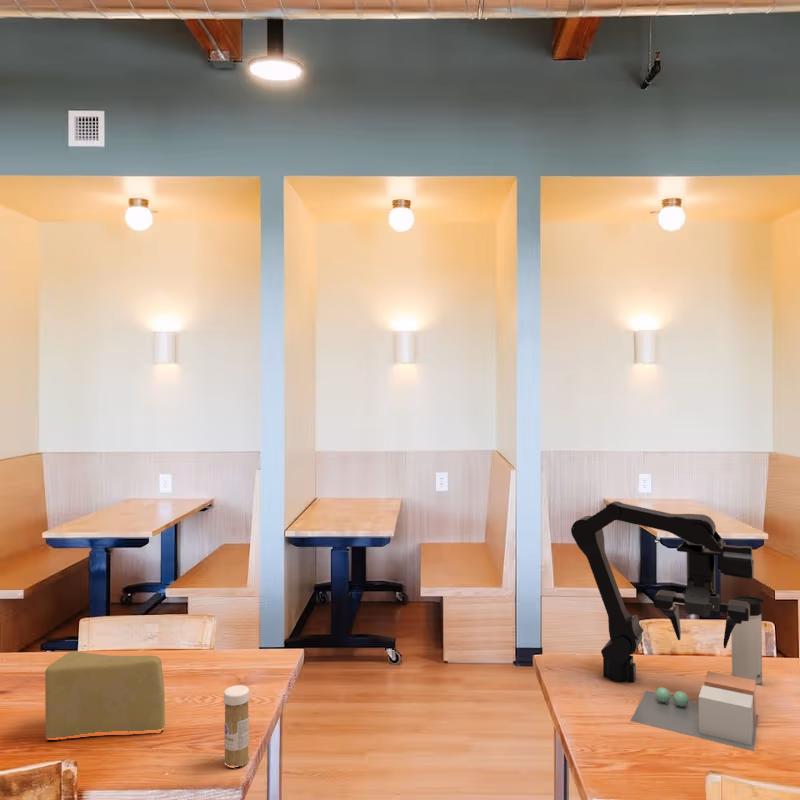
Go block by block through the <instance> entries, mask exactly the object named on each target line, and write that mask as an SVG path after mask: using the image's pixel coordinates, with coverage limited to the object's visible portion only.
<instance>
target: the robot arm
mask: <svg viewBox="0 0 800 800" xmlns="http://www.w3.org/2000/svg"><path fill="white" fill-rule="evenodd" d="M614 521H621V522H623V523H627V524H628V523H629V524H633V525H637V526H641V527H647V528H651V529H655V530H660V531H664V532H667V533H669V534H673V535H674V536H675V537H678V538H680V539H682V540H683V542H682V544H679V545H678V547H677V548H676V551H677V552H680V553H681V552H682V553H686V587H685V589H684V590H685V591H684V596H683V597H681V596H678V594H677V592H676V591H674V590H673V591H672V590H667V589H660V590H658V591H657V592H656V594H655V595H654V600H653V601H654V602H653V603H654V607H655V608H656V609H660V611H661V612H662V613H665V614H666V615H667V616H668V619H669V620H670V622H671V624H672V628H673V630H674V633H675V636H676V639H677V641H680V640H681V638H682V637H681V636H682V635H681V634H682V633H681V630H682V629H681V619H680V609H679V608H680V607H684V613H685V614H686V615H690V616H692V615H694V616H695V615H696V616H701V617H705V618H706V617H710V615H711V612H720V613H726V614H727V616H726V620H725V628H724V633H723V634H724V637H723V649H726V648H727V646H728V643H729V641H730V640H729V639H730V637H731V632H732V630H733V628H734V626H735V625H736V624H741V623H742V621H749V617H750V605H749V603H748V602H746V601H739V600H732V599H733V598H730V599H729V600H728V603H725V602H721V595H720V593H716V556H717V571H719V572H720V573H721V574H723V576H724V577H731V578H738V579H745V580H754V575H755V574H754V572H755V571H754V570H755V567H754V565H755V559H754V558H753V547H752V546H748V545H742V546H741V545H740V546H739V545H731V544H727V543H726V541H724V539H723V538H722V536H721V535H720V534H719V533H718V531H717V529H716V524H715V521H714V520H713V519H712V518H711V517H710V516H708V515H706V514H698V513H670V512H664V511H661V510H655V509H651V508H648V507H647V508H645V507H641V506H638V505H632V504H627V503H623V502H621V501H618V500H617V501H616V500H615V501H612V502H610V503H608V504H607V505H606V507H604V508H603V509H601V510H599V511H598V512H596V513H595V514H594V515H585V516H584V517H581V518H579V519H577V520H576V521H575V522H574V523H572V526H571V528H570V533H571V536H572V538H573V540H574V541H575V543H576V545H577V548H578V549H580V551H581V552H582V553H583V554H584V555H585V557H586V559H587V561H588V564H589V567H590V569H591V572H592V575H593V578H594V581H595V583H596V586H597V589H598V592H599V594H600V597H601V600H602V602H603V606H604V609H605V611H606V614H607V618H608V619H607V620H608V635H609V638H610V639H609V640H608V641H607V642H606V644H605V645H604V646H603V648H602V649H601V651H600V652H601V656H602V659H603V660H602V669H603V671H602V672H603V675H602V677H603V678H606V679H608V680H609V681H612V682H615V683H629V684H630V683H632V684H633V683H635V681H636V680H637V664H636V663H635V662H634V655H633V654H634V653H635V652H636V651H637V649H638V647H639V646H640V645H641V643H642V640H643V632H644V631H645V630H644V628H642V626H641V623H640V619H639V616H638V614H634V615H631V613H630V612H629V611H628V610H627V608H626V606H625V603H624V600H623V597H622V595H621V592H620V589H619V586H618V584H617V580H616V579H615V576H614V573H613V570H612V568H611V565H610V561H609V559H608V556H607V554H606V549H605V536H604V530H603V529H604V528H605V527H607V526H608V525H610V524H612V523H613V522H614Z"/></svg>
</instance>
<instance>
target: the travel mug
mask: <svg viewBox="0 0 800 800" xmlns="http://www.w3.org/2000/svg"><path fill="white" fill-rule="evenodd" d="M731 599H732V600H739V601H746V602H748V603H749V605H750V617H749V621H742V623H741V624H736V625H735V626H734V628H733V630H732V632H731V634H730V637H731V676H736V677H742V678H747V679H752V680H756V686H761V687H762V686H763V641H762V640H763V638H762V637H763V636H762V635H763V634H762V630H763V629H762V624H763V623H762V603H764V601H763V598H761V597H760V596H758V597H757V596H748V595H747V596H746V595H744V596H735V597H733V598H731Z"/></svg>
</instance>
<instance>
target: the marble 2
mask: <svg viewBox="0 0 800 800" xmlns="http://www.w3.org/2000/svg"><path fill="white" fill-rule="evenodd" d="M672 696H673V700H674V702H675V703H676V705H678V706H680V707H684V706H686V705H687V704H688V702H689V700H690V699H689V696H688V695H687V694H686V693H685V692H684V691H679V690H678V691H676V692H675V693H674V694H673V695H672Z"/></svg>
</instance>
